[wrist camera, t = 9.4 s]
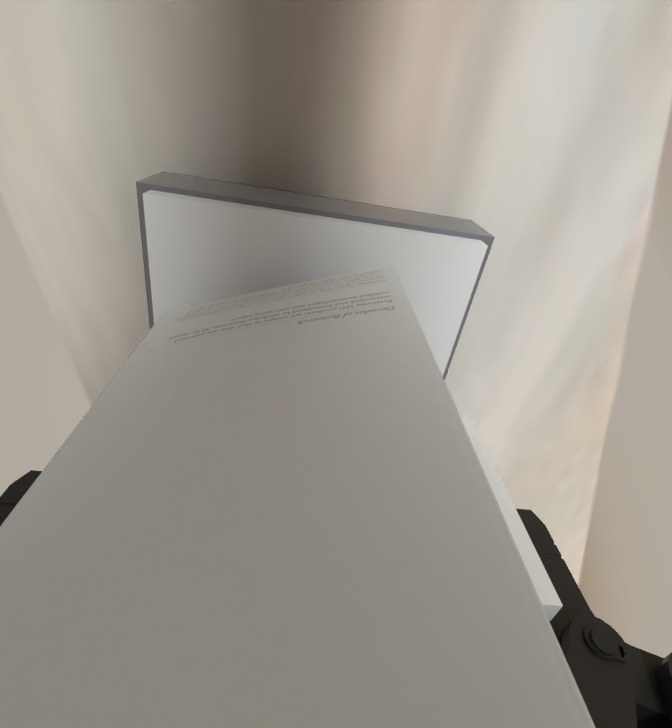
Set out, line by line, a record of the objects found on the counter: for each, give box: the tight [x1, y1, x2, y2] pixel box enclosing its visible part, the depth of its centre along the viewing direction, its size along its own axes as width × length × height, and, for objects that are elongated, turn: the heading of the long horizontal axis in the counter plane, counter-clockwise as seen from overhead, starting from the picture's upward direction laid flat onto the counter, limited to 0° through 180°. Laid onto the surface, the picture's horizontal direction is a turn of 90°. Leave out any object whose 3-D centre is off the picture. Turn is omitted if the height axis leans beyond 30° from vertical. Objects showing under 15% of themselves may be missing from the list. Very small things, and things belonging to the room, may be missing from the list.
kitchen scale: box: [136, 172, 494, 380], centre depth 21 cm, size 15×14×4 cm
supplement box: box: [0, 264, 595, 728], centre depth 11 cm, size 9×9×15 cm
